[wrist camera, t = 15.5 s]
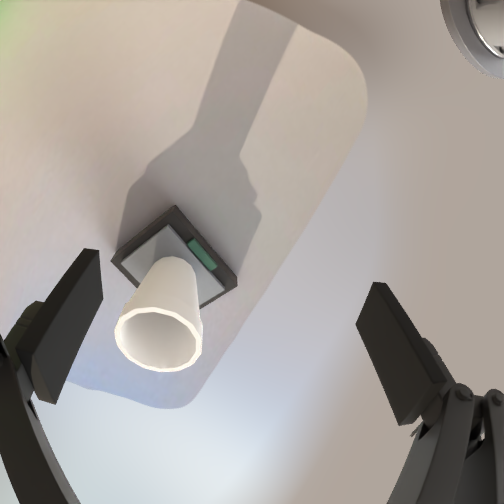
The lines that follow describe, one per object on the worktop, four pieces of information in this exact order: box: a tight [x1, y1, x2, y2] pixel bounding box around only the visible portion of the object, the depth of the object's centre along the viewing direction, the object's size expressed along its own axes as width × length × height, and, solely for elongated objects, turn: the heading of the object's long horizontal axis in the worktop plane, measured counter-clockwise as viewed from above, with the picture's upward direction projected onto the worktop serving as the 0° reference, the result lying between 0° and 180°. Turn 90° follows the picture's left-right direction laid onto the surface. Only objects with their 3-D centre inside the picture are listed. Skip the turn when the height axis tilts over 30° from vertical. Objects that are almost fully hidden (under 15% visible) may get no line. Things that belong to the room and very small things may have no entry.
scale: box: [111, 205, 237, 310], centre depth 44 cm, size 14×12×3 cm
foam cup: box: [114, 256, 203, 372], centre depth 37 cm, size 10×9×13 cm
